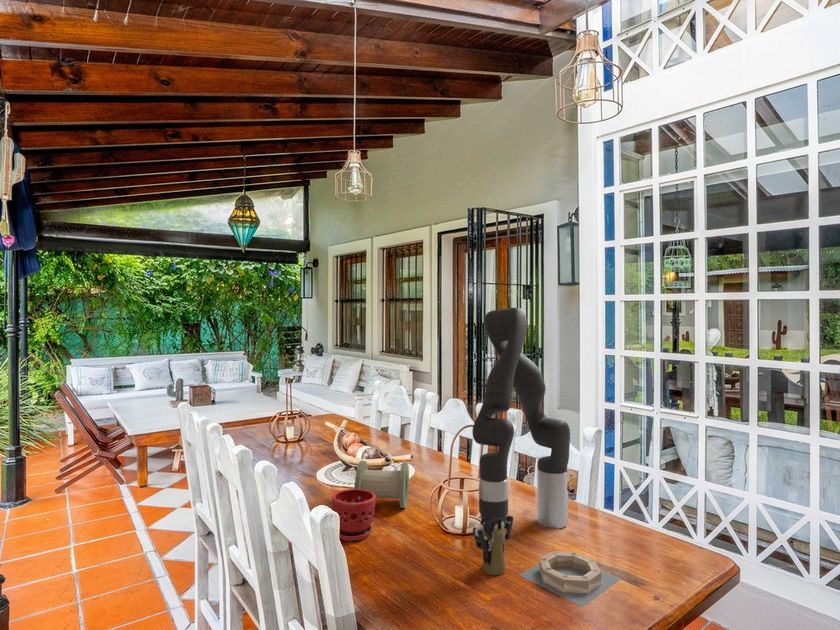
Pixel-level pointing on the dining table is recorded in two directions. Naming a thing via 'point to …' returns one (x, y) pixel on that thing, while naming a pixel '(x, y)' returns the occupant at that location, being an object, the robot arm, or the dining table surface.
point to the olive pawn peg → (495, 555)
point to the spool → (384, 482)
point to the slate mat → (576, 598)
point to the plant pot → (354, 513)
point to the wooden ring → (570, 582)
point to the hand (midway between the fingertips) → (493, 560)
